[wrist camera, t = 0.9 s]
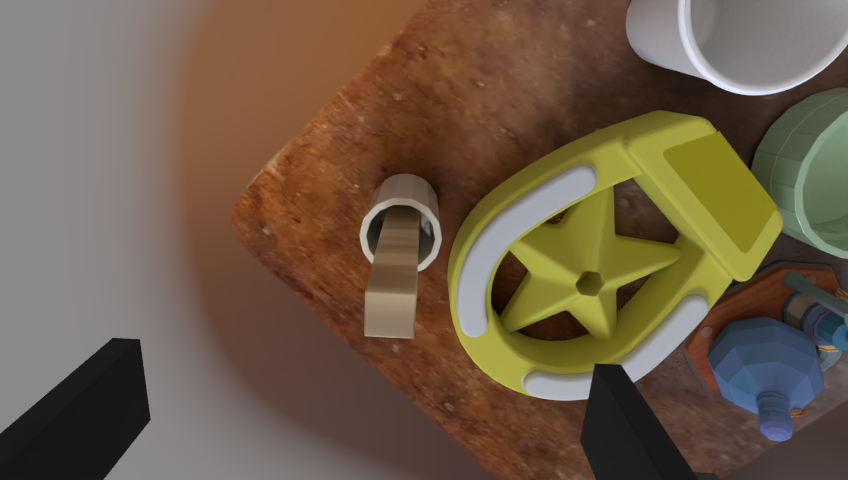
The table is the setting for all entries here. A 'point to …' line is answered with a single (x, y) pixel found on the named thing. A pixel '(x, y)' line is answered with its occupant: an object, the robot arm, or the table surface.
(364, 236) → the holder
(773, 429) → the model
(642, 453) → the robot arm
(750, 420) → the table surface
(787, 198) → the bowl
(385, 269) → the stick
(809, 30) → the dixie cup
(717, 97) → the table surface
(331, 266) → the table surface
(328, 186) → the table surface
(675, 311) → the toy steering wheel
